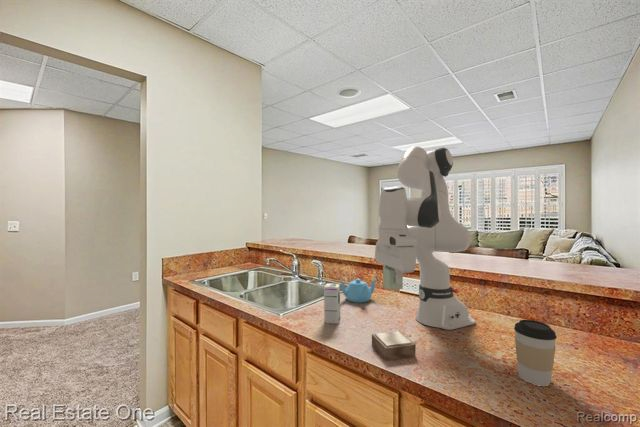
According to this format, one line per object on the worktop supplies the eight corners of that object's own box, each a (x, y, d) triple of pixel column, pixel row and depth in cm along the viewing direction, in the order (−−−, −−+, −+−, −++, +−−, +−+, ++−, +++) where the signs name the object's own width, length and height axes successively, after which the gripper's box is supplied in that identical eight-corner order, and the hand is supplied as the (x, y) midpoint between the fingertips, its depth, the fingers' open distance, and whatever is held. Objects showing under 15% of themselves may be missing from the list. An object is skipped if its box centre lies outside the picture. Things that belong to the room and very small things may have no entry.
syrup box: (338, 324, 113) (338, 287, 112) (323, 322, 114) (323, 286, 114) (340, 318, 118) (340, 283, 118) (326, 317, 119) (326, 282, 119)
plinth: (399, 341, 98) (399, 329, 98) (415, 356, 88) (415, 343, 88) (371, 344, 95) (371, 332, 95) (385, 360, 86) (385, 347, 86)
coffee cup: (537, 369, 81) (537, 316, 81) (565, 389, 72) (566, 329, 72) (505, 369, 81) (506, 316, 80) (530, 390, 71) (531, 330, 71)
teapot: (352, 293, 153) (352, 274, 153) (378, 298, 145) (378, 278, 145) (338, 300, 141) (338, 280, 141) (365, 306, 133) (365, 284, 133)
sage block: (395, 285, 94) (395, 267, 94) (402, 288, 90) (402, 269, 90) (383, 286, 93) (382, 267, 93) (389, 289, 89) (389, 270, 88)
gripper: (370, 234, 100) (370, 274, 101) (400, 241, 81) (400, 290, 81) (387, 234, 102) (386, 273, 102) (420, 240, 82) (419, 288, 82)
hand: (393, 280), depth 91 cm, fingers closed on sage block, 4 cm apart
